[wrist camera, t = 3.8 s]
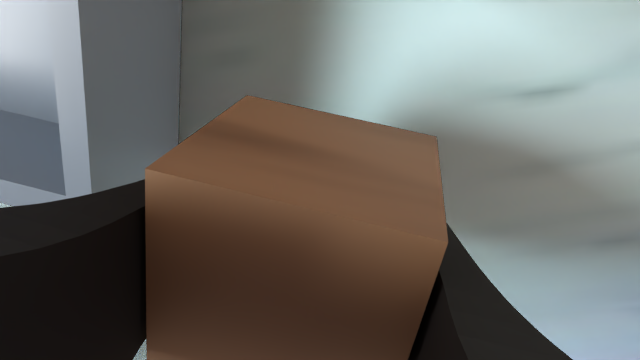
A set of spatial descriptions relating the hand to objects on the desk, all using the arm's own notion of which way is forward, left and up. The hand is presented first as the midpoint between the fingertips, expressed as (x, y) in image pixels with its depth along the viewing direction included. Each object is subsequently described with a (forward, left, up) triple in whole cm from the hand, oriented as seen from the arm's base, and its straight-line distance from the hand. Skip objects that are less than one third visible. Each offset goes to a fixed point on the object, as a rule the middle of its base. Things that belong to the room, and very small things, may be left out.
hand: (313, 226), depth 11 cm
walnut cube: (0, 0, -2) cm, 2 cm away
